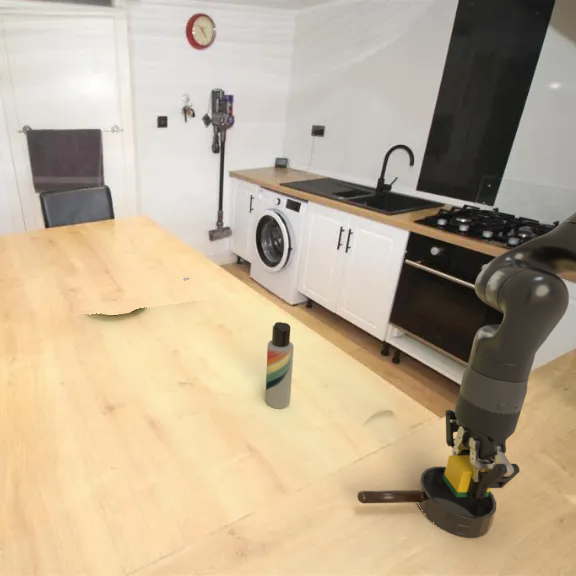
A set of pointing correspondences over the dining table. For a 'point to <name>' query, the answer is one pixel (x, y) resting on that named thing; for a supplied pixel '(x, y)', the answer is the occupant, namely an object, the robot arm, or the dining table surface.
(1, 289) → the dining table surface
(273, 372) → the lotion bottle
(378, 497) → the pan handle
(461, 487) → the sponge
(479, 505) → the pan
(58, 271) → the dining table surface
